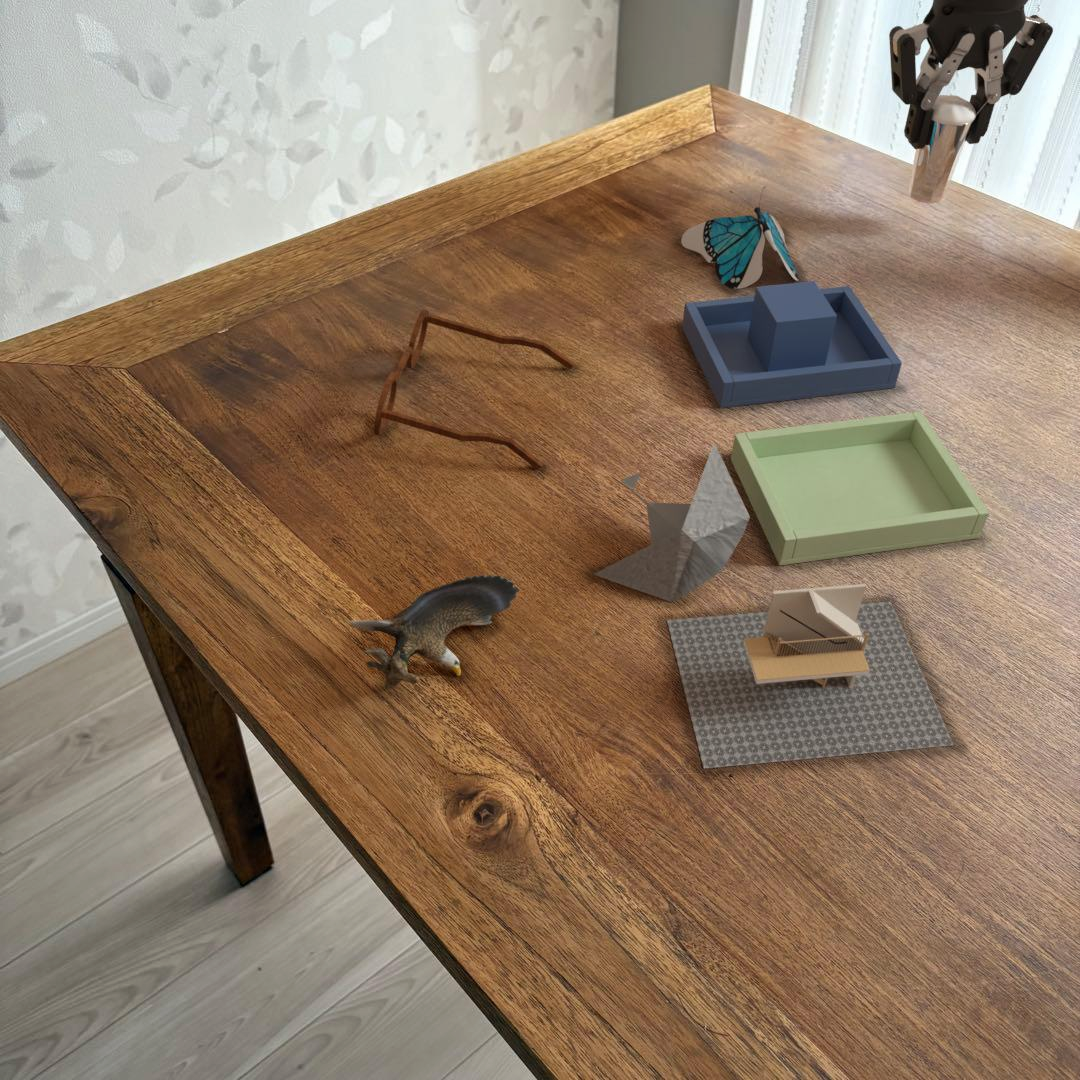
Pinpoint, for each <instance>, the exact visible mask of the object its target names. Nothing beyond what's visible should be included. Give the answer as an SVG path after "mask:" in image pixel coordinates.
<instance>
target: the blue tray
mask: <svg viewBox="0 0 1080 1080" xmlns="http://www.w3.org/2000/svg"><path fill="white" fill-rule="evenodd" d="M819 289H820V290H821V292H822V293H823V295H824V296H825V298H826V300H827V301H828V303H829V304H830V306H831V307H832V309H833V310H834V312H835V313H836V315H837V317H836V321H835V326H834V330H833V334H832V339H831V343H830V347H829V352H828V356H827V360H826V365H823V366H814V367H805V368H796V369H788V370H779V371H770V372H766V371H765V369H764V367H763V366H762V364H761V362H760V360H759V358H758V356H757V354H756V353H755V351H754V349H753V347H752V345H751V343H750V341H749V340H748V333H749V327H750V321H751V315H752V309H753V303H754V297H755V295H747V296H739V297H729V298H728V297H727V298H719V299H710V300H700V301H689V302H684V307H683V317H682V325H681V328H682V330H683V332H684V334H685V337H686V339H687V341H688V343H689V345H690V347H691V350H692V351H693V354H694V356H695V358H696V360H697V362H698V364H699V366H700V369H701V370H702V373H703V375H704V377H705V379H706V382H707V383H708V386H709V388H710V390H711V392H712V394H713V397H714V398H715V401H716V403H717V405H718V407H719V408H720V409H723V408H733V407H740V406H741V407H742V406H751V405H759V404H767V403H776V402H784V401H793V400H800V399H801V400H802V399H810V398H819V397H827V396H837V395H844V394H851V393H852V394H853V393H862V392H871V391H879V390H887V389H895V388H896V385H897V382H898V379H899V375H900V371H901V368H902V366H903V365H902V364H903V362H902V361H901V359H900V357H899V356H898V354H897V353H896V351H895V350H894V349H893V348H892V346H891V344H890V343H889V341H888V340H887V338H886V337H885V336H884V334H883V333H882V331H881V329H880V328H879V327H878V325H877V324H876V322H875V321H874V319H873V318H872V317H871V315H870V314H869V312H868V311H867V309H866V307H864V304H863V303H862V302H861V300H860V299H859V297H858V296H857V295H856V293H855V291H854V290H853V289H852V287H851V286H850V285H844V286H835V287H834V286H833V287H825V288H819Z"/></svg>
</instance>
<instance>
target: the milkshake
mask: <svg viewBox="0 0 1080 1080" xmlns="http://www.w3.org/2000/svg"><path fill="white" fill-rule="evenodd" d="M991 97H992V95H991V96H990V97H989V99H990V98H991ZM989 99H988V100H989ZM988 100H987V101H986V102H985V103H984V104H983V106H982V107H981V108H980V109H979V111H980V110H981V109H982V108H983V107H984V105H985V104H986V103H987V102H988ZM932 109H933V110H934V112H933V116H932V120H931V124H930V128H929V132H928V136H927V140H926V144H925V147H924V148H923V149H915V153H914V158H913V164H912V169H911V175H910V180H909V186H908V191H907V192H908V195H909V197H910V199H912V200H914V201H916V202H917V203H922V204H928V205H931V204H939V203H941V202H942V201H943V200H944V199H945V197H946V195H947V193H948V190H949V187H950V184H951V181H952V179H953V177H954V173H955V171H956V168H957V166H958V162H959V160H960V157H961V155H962V152H963V149H964V147H965V144H966V142H967V141H966V139H967V137H968V134H969V132H970V129H971V127H972V124H973V122H974V119H975V117H976V115H977V114H978V113H979V111H978V112H977V113H976V111H975V109H974V107H973V105H972V104H971V103H970V101H968V100H966V99H965V98H963V97H960V96H958V95H952V94H951V95H948V94H947V95H946V94H939V96H938V98H937V100H936V101H935V103H934V105H933V107H932Z"/></svg>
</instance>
